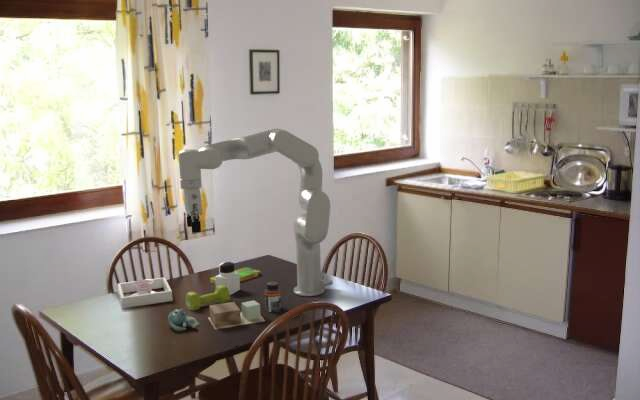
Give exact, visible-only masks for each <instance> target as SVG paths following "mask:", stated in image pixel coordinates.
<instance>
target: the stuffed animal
mask: <svg viewBox="0 0 640 400" xmlns="http://www.w3.org/2000/svg"><path fill="white" fill-rule="evenodd" d="M167 317H168V324H169V325H170V327H171V328H172V330H174V331H176V332H183V331H186V330H187V327H191V328H192V329H197V327H198V326H200V322H198V321H197V319H196V318H195V317H194V316H191V315H187V313H186V311H185V309H184V308H180V309H178V308H177V309H174V310H173V311H170V312H169V314H168V316H167Z"/></svg>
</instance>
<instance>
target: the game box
mask: <svg viewBox="0 0 640 400" xmlns="http://www.w3.org/2000/svg"><path fill="white" fill-rule="evenodd" d="M234 270H235V273H239V281H240V283H241V282H245V281H247V280H250V279H254V278H257V277H259V273H260V272H261V271H260V270H258V269H254V268H252V267H248V266H245V267H242V268H238V269H234ZM209 281H210V283H211V284H213V285H216V282H215V276H212V277H210V278H209Z"/></svg>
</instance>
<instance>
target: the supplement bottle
mask: <svg viewBox="0 0 640 400" xmlns="http://www.w3.org/2000/svg"><path fill="white" fill-rule="evenodd" d="M281 293H282V291H281V288H280V287H279V285H278V282H277V281H268V282H267V283H266V288H265V289H264V307H265V309H264V310H265V312H269V313H277V312H280V311H281V310H282V294H281Z"/></svg>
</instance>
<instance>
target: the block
mask: <svg viewBox="0 0 640 400" xmlns="http://www.w3.org/2000/svg"><path fill="white" fill-rule="evenodd" d="M240 306H241V312H242V317H244V318H245V319H247V320H252V319H256V318H261V316H262V314H261V304H260V303H259V302H258V301H256V300H254V299H253V300H249V301H245V302H241V305H240Z"/></svg>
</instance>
